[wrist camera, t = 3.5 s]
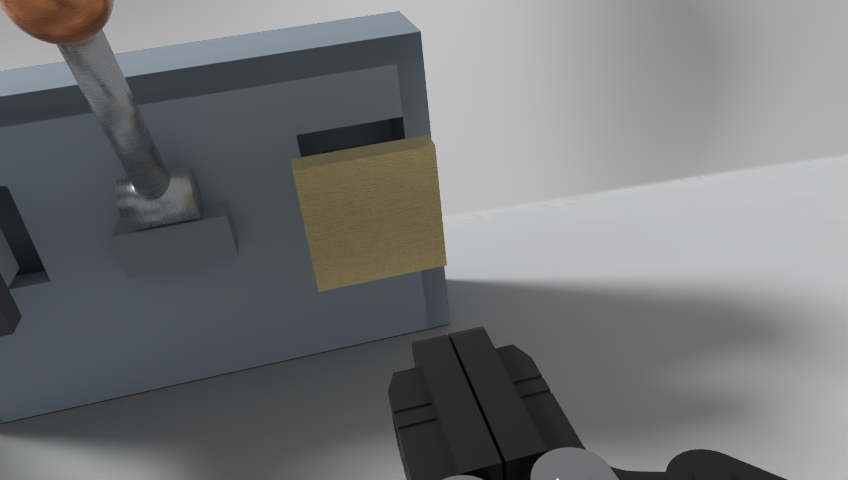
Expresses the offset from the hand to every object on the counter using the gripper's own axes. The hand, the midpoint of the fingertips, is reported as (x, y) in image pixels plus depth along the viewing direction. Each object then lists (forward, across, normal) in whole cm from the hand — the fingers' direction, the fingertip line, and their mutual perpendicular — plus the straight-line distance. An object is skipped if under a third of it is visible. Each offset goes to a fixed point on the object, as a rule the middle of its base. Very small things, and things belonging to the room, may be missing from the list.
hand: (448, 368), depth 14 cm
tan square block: (+11, 0, +3) cm, 12 cm away
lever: (+12, +7, 0) cm, 14 cm away
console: (+15, +7, +9) cm, 19 cm away
